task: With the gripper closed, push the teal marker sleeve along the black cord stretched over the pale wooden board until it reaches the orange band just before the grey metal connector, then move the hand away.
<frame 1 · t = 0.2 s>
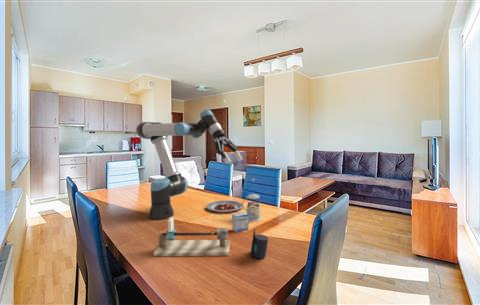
hand: (235, 161, 140), 36 cm above the table, tool tilted 35°, fingers open, 13 cm apart
medicine box: (240, 230, 130), on the table
ceramic plate: (225, 208, 169), on the table
french press: (251, 218, 147), on the table
marker sleeve: (171, 228, 107), point 10 cm above the table, slide at 0.0 cm
cord rig: (193, 249, 108), on the table
speaker: (259, 255, 102), on the table
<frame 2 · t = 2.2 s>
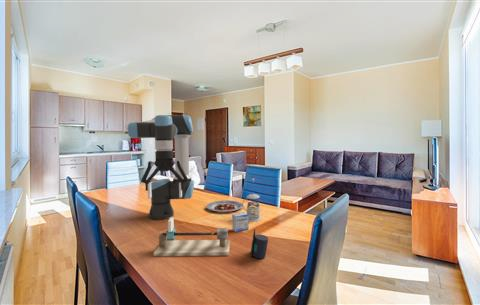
hand: (165, 197, 107), 24 cm above the table, tool pointing down, fingers open, 13 cm apart
nothing on the table moved.
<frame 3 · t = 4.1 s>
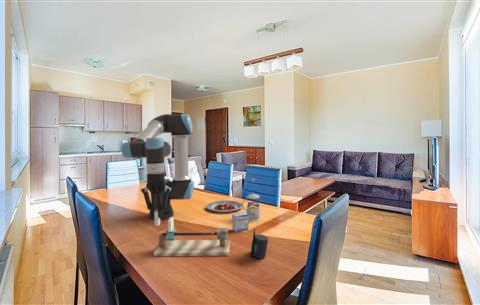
hand: (157, 224, 107), 11 cm above the table, tool pointing down, fingers closed
nothing on the table moved.
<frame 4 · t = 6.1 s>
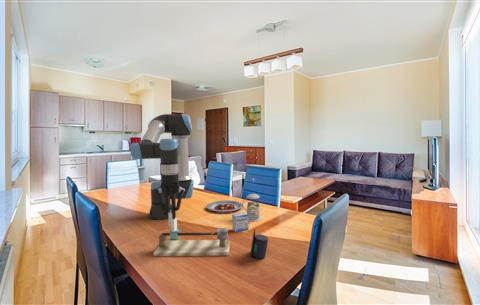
hand: (171, 225, 107), 11 cm above the table, tool pointing down, fingers closed
marker sleeve: (174, 228, 107), point 9 cm above the table, slide at 1.5 cm, touching gripper
everything else where it was.
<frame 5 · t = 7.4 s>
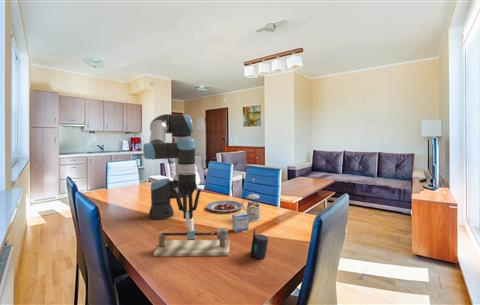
hand: (188, 225, 107), 11 cm above the table, tool pointing down, fingers closed
marker sleeve: (191, 228, 107), point 9 cm above the table, slide at 9.2 cm, touching gripper
everything else where it was.
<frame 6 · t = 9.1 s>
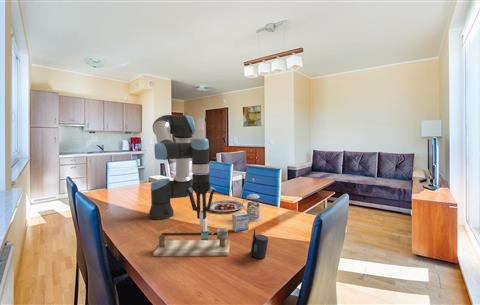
hand: (201, 225, 107), 11 cm above the table, tool pointing down, fingers closed
marker sleeve: (205, 228, 107), point 10 cm above the table, slide at 15.2 cm, touching gripper
everything else where it was.
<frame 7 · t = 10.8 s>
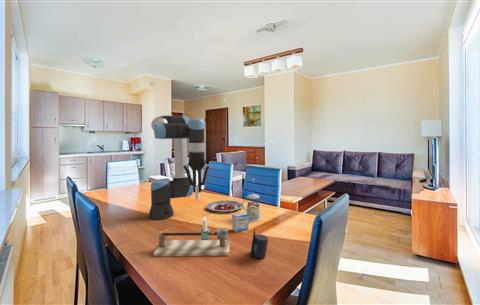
hand: (197, 198, 118), 20 cm above the table, tool pointing down, fingers closed
marker sleeve: (205, 228, 107), point 9 cm above the table, slide at 15.3 cm
everything else where it was.
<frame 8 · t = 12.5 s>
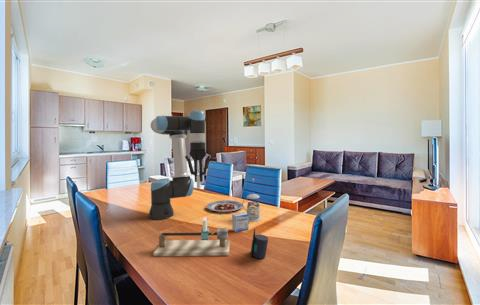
hand: (198, 188, 122), 24 cm above the table, tool pointing down, fingers closed
nothing on the table moved.
at the end: marker sleeve slide at 15.3 cm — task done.
